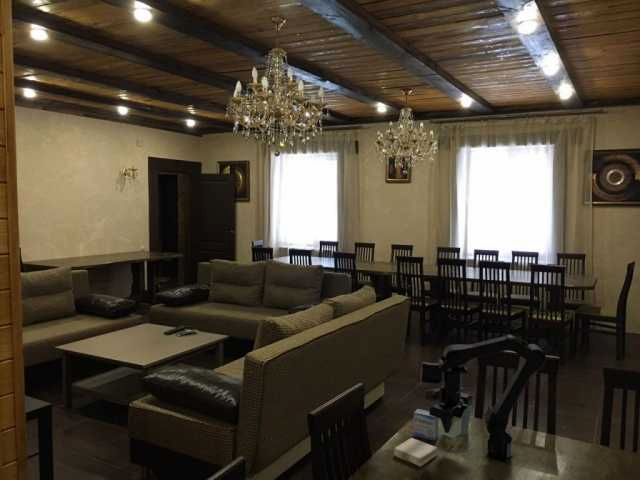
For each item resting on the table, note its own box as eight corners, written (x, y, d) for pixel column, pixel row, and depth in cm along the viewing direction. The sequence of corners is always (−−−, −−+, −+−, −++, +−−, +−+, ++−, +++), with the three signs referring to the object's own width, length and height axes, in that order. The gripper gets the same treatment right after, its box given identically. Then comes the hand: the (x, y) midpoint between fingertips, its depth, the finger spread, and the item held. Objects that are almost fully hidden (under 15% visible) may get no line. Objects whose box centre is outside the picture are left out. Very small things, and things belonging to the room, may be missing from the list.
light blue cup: (436, 430, 193) (437, 398, 192) (452, 422, 200) (453, 391, 198) (460, 440, 185) (461, 407, 184) (476, 431, 192) (477, 399, 191)
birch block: (437, 456, 175) (437, 447, 175) (420, 467, 168) (420, 458, 168) (411, 446, 182) (411, 437, 182) (394, 456, 175) (394, 448, 174)
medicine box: (412, 436, 188) (413, 412, 187) (416, 431, 192) (417, 408, 191) (434, 441, 185) (435, 417, 184) (438, 436, 189) (439, 412, 188)
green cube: (461, 433, 177) (461, 418, 176) (453, 438, 173) (454, 423, 173) (447, 428, 180) (448, 414, 180) (440, 433, 177) (440, 418, 176)
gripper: (445, 371, 187) (443, 414, 189) (415, 385, 174) (414, 431, 175) (474, 379, 180) (472, 424, 181) (446, 394, 166) (444, 442, 168)
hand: (450, 430), depth 177 cm, fingers closed on green cube, 5 cm apart
